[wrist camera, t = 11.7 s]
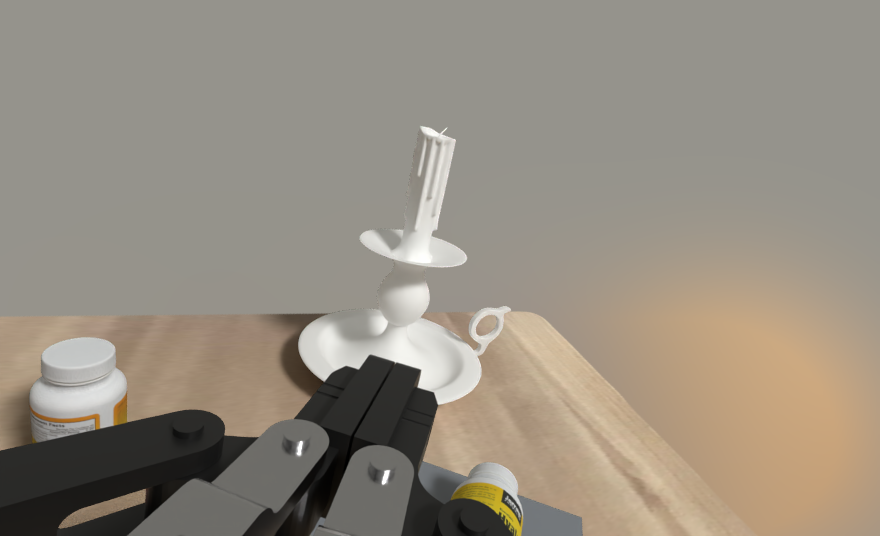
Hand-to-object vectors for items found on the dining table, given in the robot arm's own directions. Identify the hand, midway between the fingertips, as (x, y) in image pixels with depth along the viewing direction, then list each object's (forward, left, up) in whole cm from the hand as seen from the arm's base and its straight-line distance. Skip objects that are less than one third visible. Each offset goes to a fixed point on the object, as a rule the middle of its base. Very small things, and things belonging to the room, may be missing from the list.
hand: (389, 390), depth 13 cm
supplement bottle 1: (+12, +24, -23) cm, 35 cm away
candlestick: (+37, +7, -23) cm, 44 cm away
